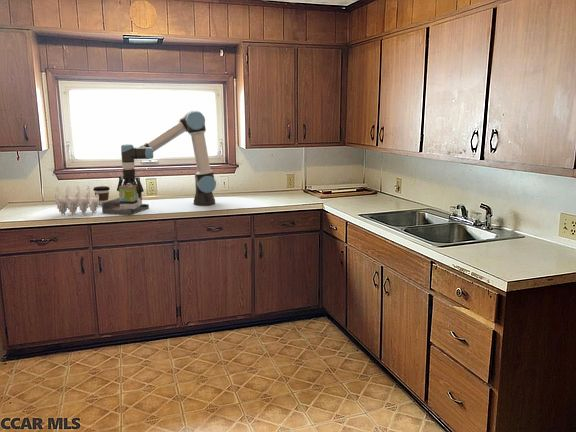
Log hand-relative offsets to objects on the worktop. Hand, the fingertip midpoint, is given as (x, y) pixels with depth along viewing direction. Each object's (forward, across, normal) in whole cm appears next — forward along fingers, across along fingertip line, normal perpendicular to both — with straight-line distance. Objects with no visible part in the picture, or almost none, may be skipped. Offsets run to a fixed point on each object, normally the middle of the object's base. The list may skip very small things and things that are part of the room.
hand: (131, 202), depth 309 cm
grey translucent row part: (+6, +28, +16) cm, 33 cm away
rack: (+6, +4, 0) cm, 7 cm away
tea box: (+3, 0, 0) cm, 3 cm away
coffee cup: (+6, +33, -15) cm, 37 cm away
